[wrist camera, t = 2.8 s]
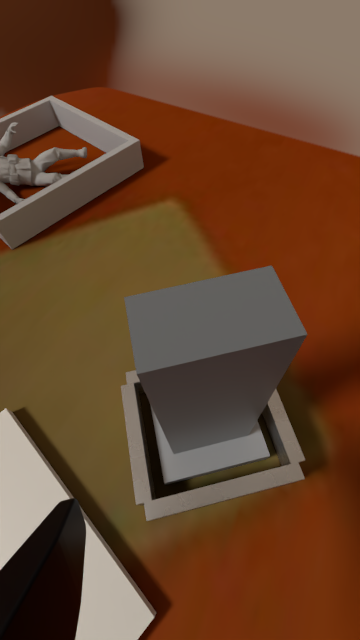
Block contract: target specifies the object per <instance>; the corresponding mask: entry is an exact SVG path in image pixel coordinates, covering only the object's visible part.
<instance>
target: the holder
mask: <svg viewBox="0 0 360 640" xmlns="http://www.w3.org/2000/svg"><path fill="white" fill-rule="evenodd" d="M126 379H127V385H123V386H121V391H122V399H123V406H124V414H125V422H126V430H127V438H128V445H129V453H130V461H131V469H132V476H133V484H134V492H135V500H136V505H142V506H143V505H144V507H145V514H146V521H152V520H156V519H159V518H163V517H167V516H171V515H174V514H178V513H182V512H186V511H189V510H193V509H197V508H200V507H204V506H208V505H212V504H215V503H219V502H223V501H227V500H230V499H234V498H238V497H242V496H245V495H249V494H253V493H257V492H260V491H264V490H268V489H272V488H275V487H279V486H283V485H287V484H290V483H294V482H297V481H300V480H303V479H305V478H304V475H303V473H302V470H301V468H300V465H299V463H301V462H303V461H305V458H304V455H303V453H302V450H301V448H300V446H299V443H298V441H297V438H296V436H295V433H294V431H293V428H292V426H291V424H290V421H289V419H288V416H287V414H286V411H285V409H284V407H283V404H282V402H281V399H280V397H279V394H278V392H277V389H275V391H274V392H273V394H272V396H271V398H270V399H269V401H268V403H267V404H266V406H265V408H264V410H263V411H262V414H263V417H264V420H265V423H266V425H267V428H268V431H269V433H270V436H271V439H272V442H273V444H274V447H275V450H276V452H277V455H278V458H279V461H280V463H281V467H277V468H274V469H270V470H266V471H262V472H258V473H255V474H251V475H247V476H243V477H239V478H236V479H232V480H228V481H224V482H220V483H217V484H213V485H209V486H205V487H201V488H197V489H194V490H190V491H186V492H182V493H178V494H175V495H171V496H167V497H163V498H159V499H156V495H155V489H154V483H153V476H152V470H151V464H150V458H149V451H148V445H147V439H146V433H145V426H144V420H143V414H142V408H141V401H140V395H139V394H140V393H145V391H144V389H143V387H142V385H141V382H140V380H139V378H138V376H137V373H136V370H135V371H131V372H126Z"/></svg>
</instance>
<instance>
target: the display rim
mask: <svg viewBox="0 0 360 640" xmlns="http://www.w3.org/2000/svg"><path fill="white" fill-rule="evenodd" d="M14 122H16V123H19V124H17V125H16V126H14V131H15V132H17V133H14V135H13V139H12V143H11V146H10V147H9V149H8V150H7V151H9V150H11V149H13V148H15V147H17V146H19V145H22V144H24V143H26V142H28V141H30V140H32V139H34V138H36V137H38V136H40V135H42V134H44V133H46V132H48V131H50V130H52V129H54V128H56V127H58V126H60V127H62V128H64V129H65V130H67V131H69V132H71V133H73V134H74V135H76V136H78V137H80V138H81V139H83V140H85V141H87V142H88V143H90V144H92V145H94V146H96V147H97V148H99V149H101V150H103V151H104V152H106V154H104V155H103V156H101V157H99V158H97V159H96V160H94V161H92V162H90V163H89V164H87V165H85V166H83V167H82V168H80V169H78V170H76V171H75V172H73V173H71V174H69V175H68V176H66V177H64V178H62V179H61V180H59V181H57V182H55V183H53V184H52V185H50V186H48V187H46V188H45V189H43V190H41V191H39V192H38V193H36V194H34V195H32V196H31V197H29V198H27V199H25V200H24V201H22V202H20V203H18V204H17V205H15V206H13V207H11V208H10V209H8V210H6V211H4V212H3V213H1V214H0V238H1V239H2V240H3V241H4V242H5V243H6V244H7V245H8V246H9V247H10V248H11V249H14V248H16V247H17V246H19V245H20V244H22V243H24V242H25V241H27V240H28V239H30V238H32V237H33V236H35V235H36V234H38V233H40V232H41V231H43V230H45V229H46V228H48V227H49V226H51V225H53V224H54V223H56V222H57V221H59V220H61V219H62V218H64V217H65V216H67V215H69V214H70V213H72V212H73V211H75V210H77V209H78V208H80V207H81V206H83V205H85V204H86V203H88V202H89V201H91V200H93V199H94V198H96V197H97V196H99V195H101V194H102V193H104V192H106V191H107V190H109V189H110V188H112V187H114V186H115V185H117V184H118V183H120V182H122V181H123V180H125V179H126V178H128V177H130V176H131V175H133V174H134V173H136V172H138V171H139V170H141V169H142V168H144V164H143V158H142V152H141V146H140V140H138V139H136V138H134V137H132V136H130V135H128V134H126V133H124V132H122V131H120V130H119V129H117V128H115V127H113V126H111V125H109V124H107V123H105V122H103V121H101V120H99V119H97V118H95V117H93V116H91V115H89V114H87V113H85V112H83V111H81V110H79V109H77V108H75V107H73V106H71V105H69V104H67V103H65V102H63V101H61V100H59V99H57V98H55V97H53V96H50V97H48V98H45V99H43V100H41V101H39V102H37V103H34V104H32V105H30V106H28V107H26V108H23V109H21V110H19V111H17V112H14V113H12V114H10V115H8V116H6V117H3V118H1V119H0V141H1V139H2V137H3V136H4V135H5V132H6V130H7V129H8V127H9V126H10V124H11V123H14ZM7 151H6V152H7Z"/></svg>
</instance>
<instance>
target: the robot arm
mask: <svg viewBox="0 0 360 640" xmlns="http://www.w3.org/2000/svg"><path fill="white" fill-rule="evenodd" d="M85 543H86V524H85V520H84V517H83V514H82V511H81V508H80V505H79V502H78V500H77V499H75V498H71V499H67V500H63V501H61V502H59V503H58V504H57V505H56V506H55V507H54V509H53V510H52V511H51V512H50V513H49V514H48V516H47V517H46V518H45V519H44V520H43V521H42V522H41V524H40V525H39V526H38V527H37V528H36V529H35V531H34V532H33V533H32V534H31V535H30V536H29V537H28V539H27V540H26V541H25V542H24V543H23V544H22V545H21V547H20V548H19V549H18V550H17V551H16V552H15V554H14V555H13V556H12V557H11V558H10V559H9V560H8V562H7V563H6V564H5V565H4V566H3V567H2V569H1V570H0V640H75V638H76V631H77V625H78V619H79V613H80V606H81V597H82V585H83V571H84V557H85Z"/></svg>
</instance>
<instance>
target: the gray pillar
mask: <svg viewBox="0 0 360 640" xmlns="http://www.w3.org/2000/svg"><path fill="white" fill-rule="evenodd" d="M124 298H125V305H126V311H127V317H128V323H129V329H130V336H131V342H132V348H133V354H134V361H135V367H136V373H137V376H138V378H139V380H140V382H141V385H142V387H143V389H144V391H145V393H146V395H147V398H148V400H149V402H150V405H151V411H152V416H153V422H154V428H155V433H156V439H157V445H158V450H159V456H160V462H161V467H162V473H163V479H164V483H165V484H166V485H169V484H172V483H176V482H180V481H184V480H188V479H192V478H195V477H199V476H203V475H207V474H211V473H215V472H218V471H222V470H226V469H230V468H234V467H238V466H242V465H245V464H249V463H253V462H257V461H261V460H265V459H267V458H268V457H269V456H270V454H269V451H268V448H267V446H266V443H265V440H264V437H263V434H262V432H261V429H260V426H259V423H258V418H259V416H260V415H261V413H262V411H263V410H264V408H265V406H266V404H267V403H268V401H269V399H270V398H271V396H272V394H273V392H274V391H275V389H276V387H277V386H278V384H279V382H280V380H281V379H282V377H283V375H284V374H285V372H286V370H287V368H288V367H289V365H290V363H291V362H292V360H293V358H294V356H295V355H296V353H297V351H298V350H299V348H300V346H301V344H302V343H303V341H304V339H305V338H306V336H307V333H306V331H305V329H304V327H303V325H302V323H301V321H300V319H299V317H298V315H297V313H296V311H295V310H294V308H293V306H292V304H291V302H290V300H289V298H288V296H287V294H286V292H285V290H284V288H283V286H282V284H281V283H280V281H279V279H278V277H277V275H276V273H275V271H274V269H273V267H272V266H268V267H263V268H258V269H254V270H249V271H244V272H240V273H235V274H230V275H226V276H221V277H217V278H212V279H207V280H203V281H198V282H193V283H189V284H184V285H179V286H175V287H170V288H166V289H161V290H156V291H152V292H147V293H142V294H138V295H133V296H128V297H124Z"/></svg>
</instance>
